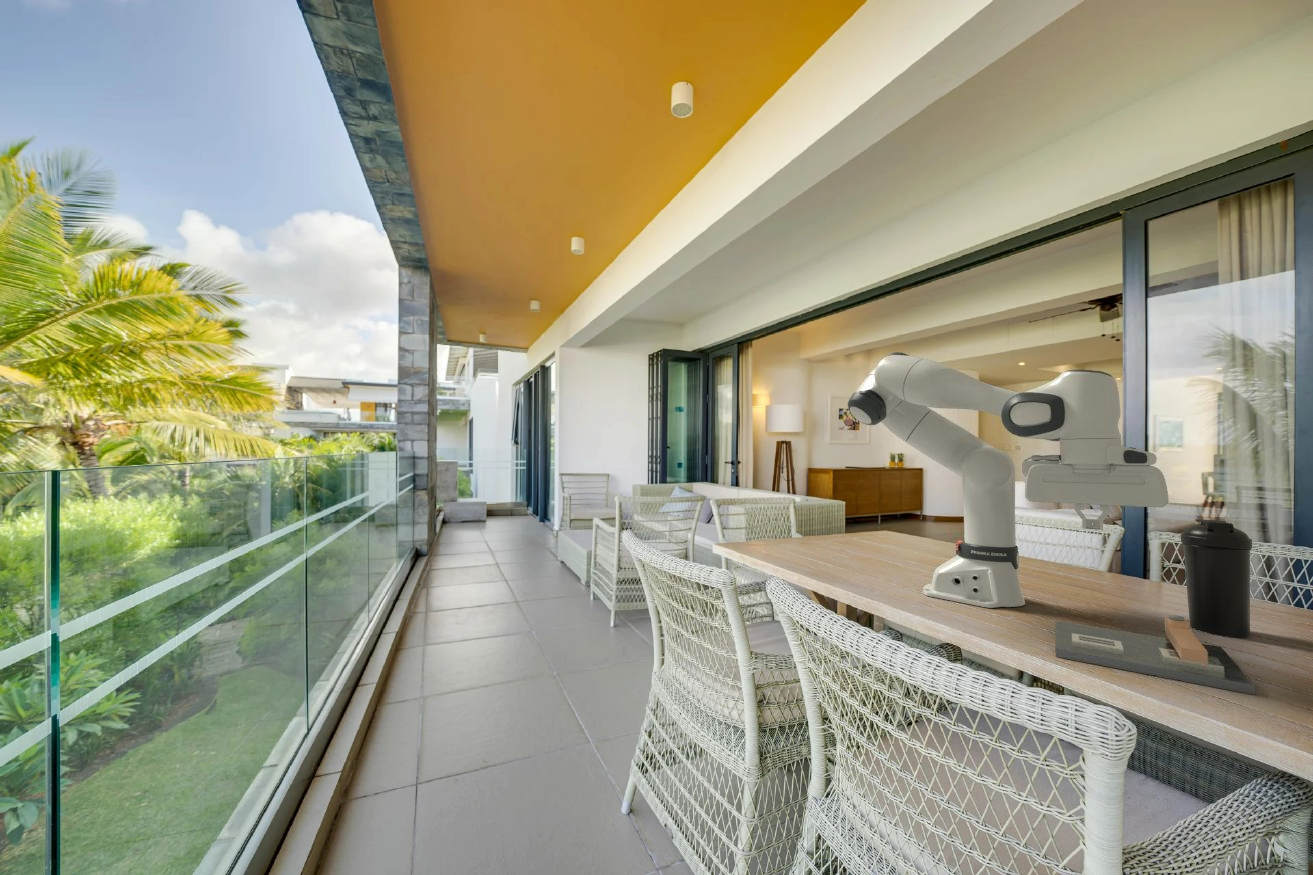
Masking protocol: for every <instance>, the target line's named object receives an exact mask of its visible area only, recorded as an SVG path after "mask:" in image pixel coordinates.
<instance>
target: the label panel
mask: <svg viewBox="0 0 1313 875" xmlns="http://www.w3.org/2000/svg"><path fill="white" fill-rule="evenodd" d="M1054 624H1055V626H1054V628H1055V635H1054V636H1055V638H1054V639H1055V640H1054V642H1055V645H1054V647H1055V648H1054V649H1055V657H1056V658H1061V659H1066V660H1071V661H1077V662H1079V663H1080V662H1082V663H1085V664H1087V663H1088V664H1091V665H1096V666H1097V665H1098V666H1102V667H1106V668H1113V669H1118V670H1123V671H1128V672H1133V673H1139V674H1143V673H1144V675H1148V674H1149V676H1153V675H1156V676H1155V677H1159V678H1164V679H1169V680H1176V681H1179V680H1181V681H1180V682H1184V683H1190V682H1191V684H1194V685H1202V686H1206V687H1211V688H1216V689H1217V688H1218V689H1221V688H1222V689H1221V690H1226V691H1232V692H1238V693H1243V694H1248V695H1253V696H1255V695H1256V694H1255V692H1256V691H1255V690H1256V689H1255V684H1254V683H1253V682H1252V680H1251V679H1250V678H1249V677H1248V676H1247V675H1246V674H1245V672H1244V671H1243V670H1242V669H1241V668H1240V667H1239V666H1238V664H1236V663H1235V661H1234V660H1233V659H1232V658H1231V656H1229V654H1228V653H1227V651H1225V650H1224V649H1223V647H1222V646H1220V645H1219V646H1217V645H1212V644H1205V643H1201V644H1202V645H1203V647H1204V648H1205V649H1206V650H1207V652H1208V664H1204V663H1199V662H1193V661H1187V660H1182V659H1181V658H1180V656H1179V655H1178V653H1177V651H1176V650H1175V648H1174V646H1173V645H1172V643H1169V642H1167V641H1166V639H1165V637H1161V636H1156V635H1148V634H1142V633H1138V632H1137V633H1134V632H1129V631H1122V630H1118V629H1117V630H1116V629H1112V628H1111V629H1110V628H1105V627H1099V626H1098V627H1097V626H1092V625H1085V624H1078V623H1073V622H1066V621H1065V622H1064V621H1059V620H1055V623H1054Z"/></svg>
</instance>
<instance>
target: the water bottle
mask: <svg viewBox="0 0 1313 875" xmlns="http://www.w3.org/2000/svg"><path fill="white" fill-rule="evenodd" d="M1194 521H1195V522H1200V524H1195V525H1191V526H1188V527H1187V528H1185V529H1184V530H1183V531H1182V532H1181V533H1180V542H1181V544H1182V546H1183V559H1184V571H1185V581H1186V593H1187V595H1186V596H1187V605H1188V618H1189V620H1188V621H1189V627H1190V626H1191V627H1192V628H1191V627H1190V628H1191V629H1193V628H1195V629H1196V631H1198V630H1200V631H1199V632H1201V631H1202V633H1205V632H1207V633H1206V634H1209V633H1210V635H1214V634H1216V635H1215V636H1219V635H1220V636H1221V637H1226V636H1228V637H1227V638H1233V639H1234V638H1236V639H1246V638H1248V639H1249V638H1250V637H1251V551H1252V549H1253V539H1252V538H1250V537H1249V535H1248V534H1247V533H1246V532H1244V531H1243V530H1241V529H1239V528H1236V527H1234V524H1233V523H1231V522H1230V523H1229V522H1227V521H1226V520H1217V519H1216V520H1213V519H1194ZM1195 629H1194V630H1195ZM1220 636H1219V637H1220Z"/></svg>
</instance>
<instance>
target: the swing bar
mask: <svg viewBox="0 0 1313 875" xmlns="http://www.w3.org/2000/svg"><path fill="white" fill-rule="evenodd" d="M1164 631H1165V632H1164V635H1165V637H1164V638H1165V639H1166V641H1167V642H1169V643H1172V645H1173V646H1174V648H1175V650H1176V651H1177V653H1178V655H1179V656H1180V658H1181V659H1182V660H1187V661H1193V662H1199V663H1204V664H1208V652H1207V650H1206V649H1205V648H1204V647H1203V645H1202V644H1203V643H1201V641H1200V640H1199V639H1198V637H1197V636H1196V635H1195V633H1194V632H1193V631H1192V630H1191V629H1190V621H1189V620H1187V619H1185V617H1184V616H1182V615H1177V614H1169V615H1168V616H1165V617H1164Z"/></svg>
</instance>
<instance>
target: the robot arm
mask: <svg viewBox="0 0 1313 875" xmlns="http://www.w3.org/2000/svg"><path fill="white" fill-rule="evenodd" d="M1120 400H1121V399H1120V393H1119V387H1118V384H1117V381H1116V378H1115V377H1114V376H1112V375H1111V373H1108V372H1105V371H1102V370H1093V369H1069V370H1064V371H1063V372H1061V374H1059V375H1058V376H1057V377H1056V378H1054V379H1052V380H1051V381H1049V382H1047V383H1045V384H1043V385H1040V386H1038V387H1037V386H1036V387H1035V388H1032V389H1029V390H1026V391H1023V392H1019V391H1015V390H1013V389H1008V388H1004V387H1000V386H996V385H992V384H989V383H986V382H984V381H981V380H979V379H977V378H974V377H972V376H970V375H967V374H966V373H963V372H961V371H959V370H957V369H956V368H953V367H951V366H949V365H945V364H943V363H941V362H937V361H935V360H932V359H928V358H924V357H920V356H914V355H909V354H906V353H905V352H900V351H895V352H892V353H890V354H888V355H887V356H885V357H883V358H882V359H881V360H880V361H879V362H878V363H877V365H876V366H875V367H874V368H873V369H872V370H871V371H870V372H869V373H868V374H867V375H866V377H865V378H864V380H863V381H862V382H861V384H860V385H859V387H858V388H857V389H856V390H855V392H853V393H852V394H851V396H850V397H849V400H848V402H847V409H848V411H849V413H850V415H851V416H852V417H853V418H854V419H855V420H857V421H858V422H860V423H861V424H864V425H867V426H876V425H877V424H879V423H882V424H883V426H884V427H885V428H886V429H888V430H889V431H890V432H891V433H893V435H895V436H896V437H897V438H899V439H900V440H902V441H903V442H905V443H906V444H907V445H909V446H911V447H912V448H914V449H915V450H917V451H919V452H920V453H922V454H923V455H925V456H927V457H928V458H929V459H931V460H932V461H935V462H936V463H938V464H940V465H941V466H942V467H944V468H946V469H948V470H950V471H952V472H953V473H955V474H956V475H958V476H959V477H961V478H962V479H961V481H962V501H963V527H964V528H963V529H964V530H963V531H964V532H963V533H964V534H963V537H964V538H963V539H964V540H958V541H957V542H956V543H955V554H956V555H955V556H954V557H952V558H950V559H948V560H946V561H945V562H943V563H942V564H940V565H939V566H937V567H936V569H934V571H933V575H932V580H931V582H930V583H927V584H925V585H924V586H923V588H922V593H923V594H924V595H925V596H928V597H932V598H936V599H941V600H948V601H952V602H958V603H963V604H967V605H973V606H978V607H982V608H987V609H988V608H989V609H991V608H1001V607H1003V608H1004V607H1005V608H1012V607H1013V608H1015V607H1022V606H1025V605H1026V601H1025V599H1024V598H1025V597H1024V595H1023V591H1022V588H1021V584H1020V579H1019V577H1020V576H1019V571H1018V570H1019V566H1020V553H1019V548H1018V545H1016V544H1017V543H1016V541H1017V540H1016V467H1015V464H1014V461H1013V459H1012V458H1011V457H1010V455H1009V454H1007V453H1006V452H1005V451H1003V450H1001V449H999V448H996V447H994V446H993V445H992V444H989V443H988V442H986V441H984V440H982V439H981V438H980V437H978V436H976V435H975V434H973V433H971V432H970V431H968V430H966V429H965V428H963V427H961V426H960V425H958V424H957V423H955V422H954V421H952V420H950V419H948V418H947V417H945V416H944V415H942V414H940V413H938V412H936V411H935V410H933V408H935V409H947V410H948V409H951V410H952V409H953V410H954V409H956V410H957V409H958V410H971V411H979V412H983V413H987V414H991V415H993V416H997V417H1000V418H1001V422H1002V424H1003V426H1004V428H1005V429H1006V430H1007V432H1009V433H1010V434H1012V435H1014V436H1016V437H1020V438H1024V439H1029V440H1030V439H1033V440H1045V441H1050V442H1059V454H1048V455H1040V454H1034V455H1031V456H1030V457H1027V458H1025V459H1024V460H1023V461H1022V464H1021V466H1022V467H1021V468H1022V470H1021V471H1022V474H1023V476H1024V477H1025V478H1026V480H1025V488H1024V497H1025V499H1026V500H1027V501H1028V502H1032V503H1051V504H1073V508H1074V511H1075V512H1076V514H1077V515H1078V516H1079V517H1080V519H1081V523H1082V526H1081V527H1082V529H1084V530H1085V529H1086V530H1099V531H1101V530H1102V531H1103V530H1104V521H1105V519H1106V518H1107V517H1108V515H1109V514H1110V513H1111V511H1112V510H1111V506H1117V507H1118V506H1119V507H1121V506H1122V507H1136V508H1137V507H1140V508H1164V507H1166V506H1167V505H1168V504H1169V492H1168V487H1167V486H1168V485H1167V483H1166V479H1165V476H1164V474H1163V472H1162V471H1161V469H1160V468H1158V467H1156V466H1153V465H1155V464H1157V455H1156V454H1155V453H1153V452H1151V451H1145V450H1142V449H1137V448H1136V447H1132V446H1131V447H1130V446H1129V447H1128V446H1127V447H1126V446H1123V444H1122V435H1121V433H1120V430H1119V421H1120V418H1121V402H1120ZM931 408H932V409H931ZM1085 505H1094V506H1095V505H1097V506H1099V510H1100V511H1101V514H1100V515H1099V517H1098V518H1087V517H1086V516H1085V514H1084V513H1083V512H1082V511H1084V510H1085Z"/></svg>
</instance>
